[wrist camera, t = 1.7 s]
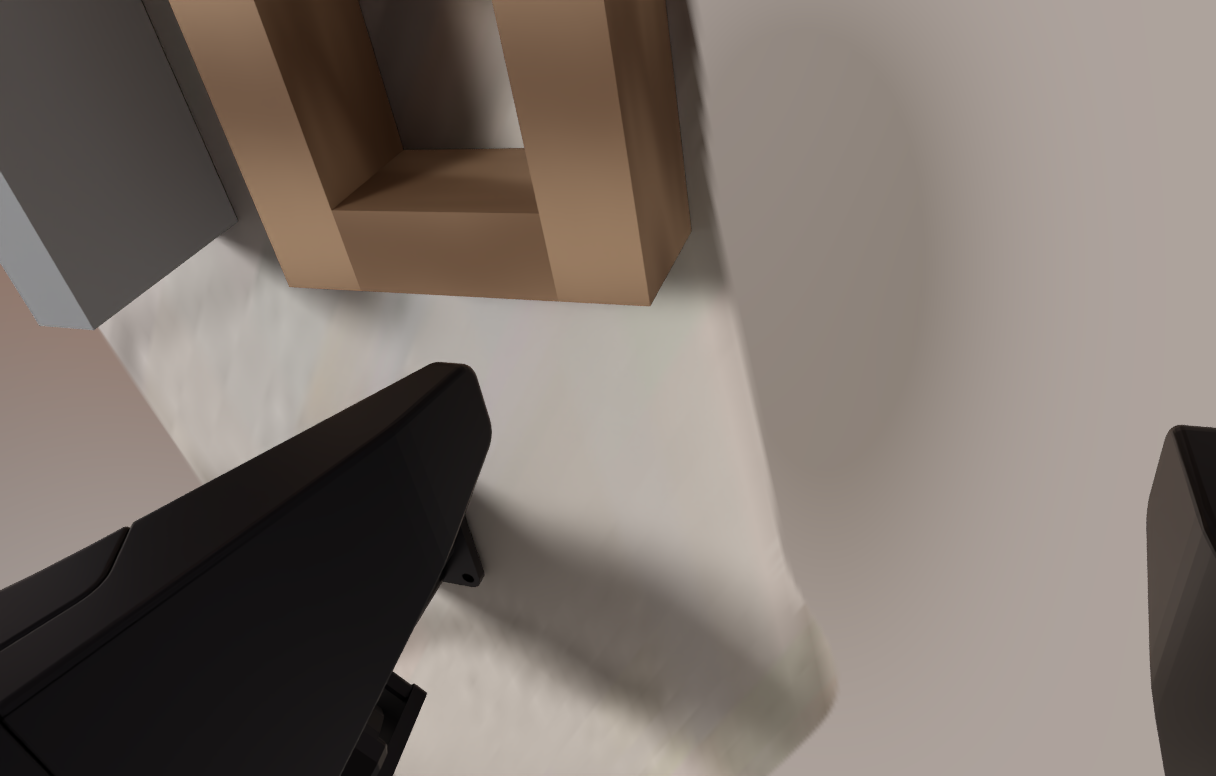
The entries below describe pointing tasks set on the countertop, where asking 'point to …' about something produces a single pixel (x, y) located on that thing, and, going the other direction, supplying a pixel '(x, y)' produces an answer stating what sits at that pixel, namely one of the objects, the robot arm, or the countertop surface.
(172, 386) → the countertop surface
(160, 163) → the backstop wall
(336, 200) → the socket block
